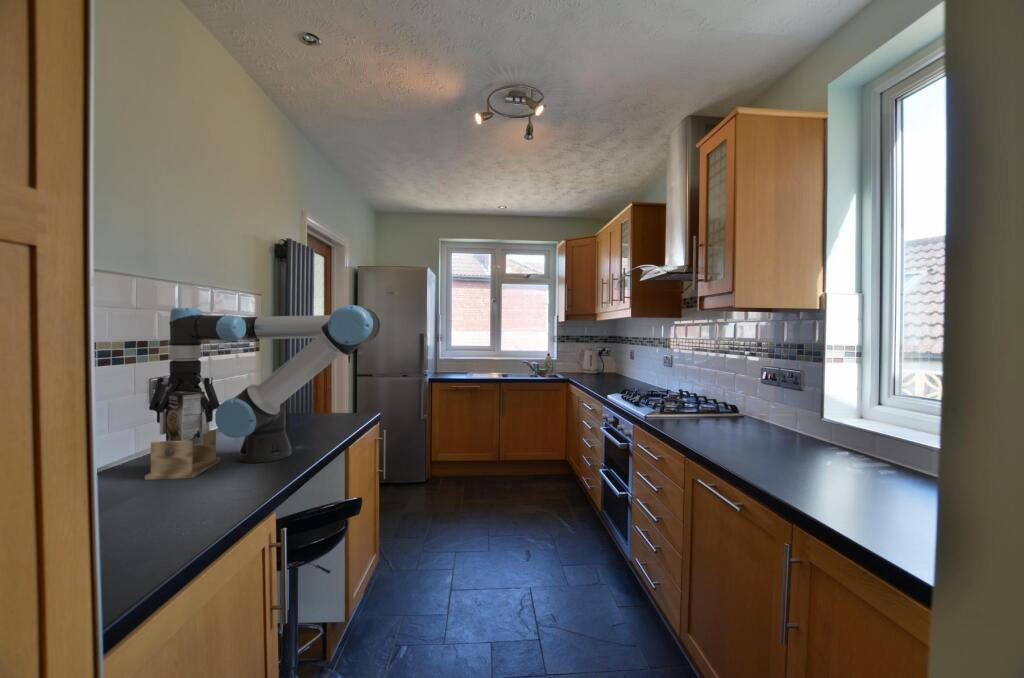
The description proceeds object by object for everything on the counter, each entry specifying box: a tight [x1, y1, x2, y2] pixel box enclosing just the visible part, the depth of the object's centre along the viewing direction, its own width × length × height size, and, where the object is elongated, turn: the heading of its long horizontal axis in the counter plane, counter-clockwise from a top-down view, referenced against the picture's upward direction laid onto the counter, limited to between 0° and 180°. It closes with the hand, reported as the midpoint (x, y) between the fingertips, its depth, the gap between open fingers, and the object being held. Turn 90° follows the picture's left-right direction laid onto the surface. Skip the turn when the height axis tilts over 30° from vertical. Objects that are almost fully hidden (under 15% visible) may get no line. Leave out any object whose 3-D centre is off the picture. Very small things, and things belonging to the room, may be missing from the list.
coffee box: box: [165, 390, 206, 446], centre depth 130 cm, size 9×6×16 cm
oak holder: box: [144, 429, 221, 480], centre depth 130 cm, size 12×16×10 cm
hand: (185, 433), depth 130 cm, fingers closed on coffee box, 11 cm apart
